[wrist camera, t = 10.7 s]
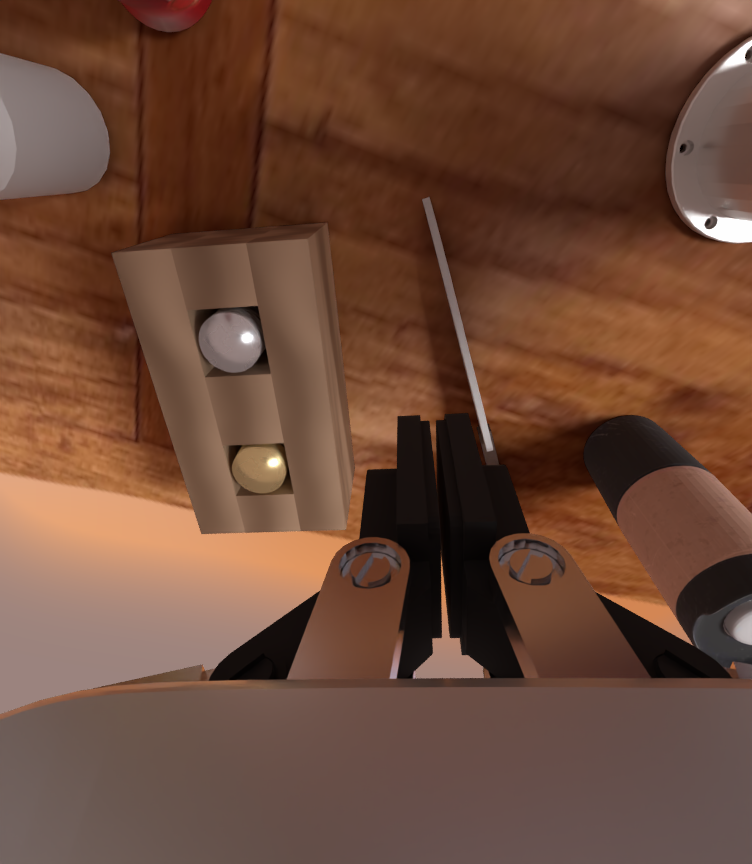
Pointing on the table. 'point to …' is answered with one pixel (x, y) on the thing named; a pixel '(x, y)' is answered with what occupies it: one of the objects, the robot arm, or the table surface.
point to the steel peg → (233, 338)
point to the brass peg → (260, 467)
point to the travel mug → (680, 531)
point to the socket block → (248, 370)
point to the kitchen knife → (461, 339)
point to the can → (47, 132)
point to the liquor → (167, 13)
